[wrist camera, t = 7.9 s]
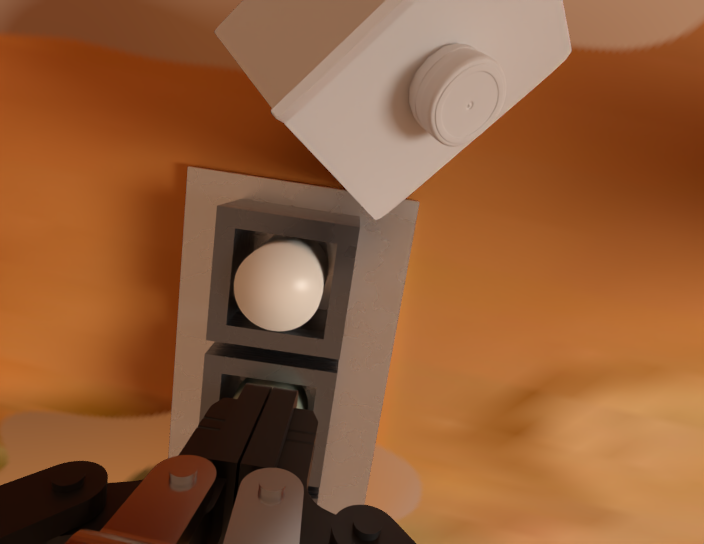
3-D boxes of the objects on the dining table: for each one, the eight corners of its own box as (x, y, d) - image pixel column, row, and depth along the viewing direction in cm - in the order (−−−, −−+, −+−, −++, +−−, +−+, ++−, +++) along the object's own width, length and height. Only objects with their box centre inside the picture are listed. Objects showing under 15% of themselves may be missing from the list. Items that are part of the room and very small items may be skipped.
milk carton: (291, 102, 27) (145, -31, 9) (382, 16, 26) (437, -349, 8) (368, 194, 28) (385, 245, 10) (459, 114, 27) (669, 5, 9)
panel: (417, 200, 28) (432, 209, 23) (354, 546, 34) (353, 624, 28) (193, 166, 28) (150, 166, 22) (169, 520, 34) (129, 593, 28)
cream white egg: (333, 237, 27) (327, 253, 22) (323, 307, 28) (315, 337, 23) (259, 226, 27) (237, 239, 22) (252, 297, 28) (229, 324, 23)
